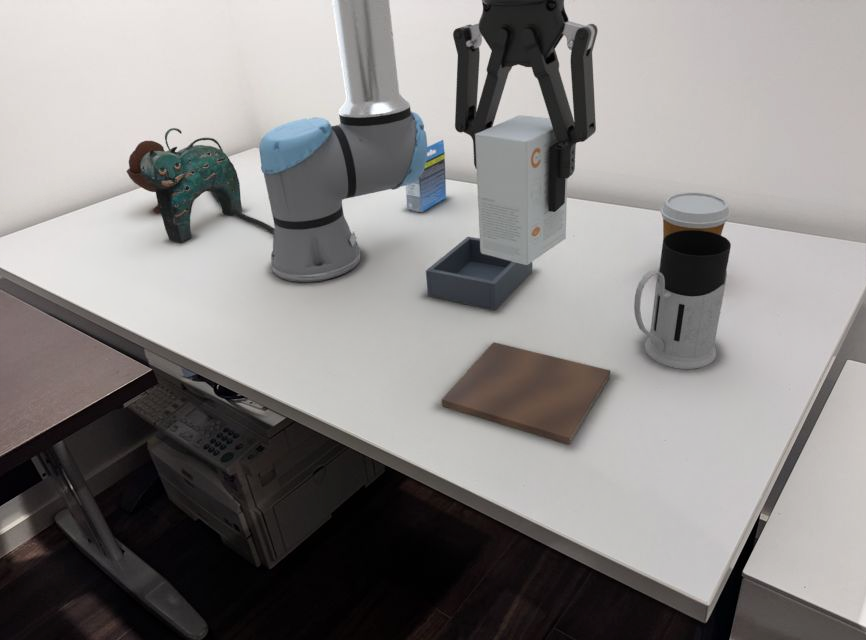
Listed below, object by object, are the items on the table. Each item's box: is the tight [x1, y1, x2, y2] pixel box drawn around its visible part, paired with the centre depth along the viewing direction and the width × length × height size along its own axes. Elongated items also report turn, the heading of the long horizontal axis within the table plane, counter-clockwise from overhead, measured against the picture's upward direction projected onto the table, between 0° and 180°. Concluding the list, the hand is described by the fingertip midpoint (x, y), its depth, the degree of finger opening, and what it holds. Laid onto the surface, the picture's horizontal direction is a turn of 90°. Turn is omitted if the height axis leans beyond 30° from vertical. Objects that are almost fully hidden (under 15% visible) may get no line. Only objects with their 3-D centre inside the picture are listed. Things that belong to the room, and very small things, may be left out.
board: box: [441, 342, 611, 445], centre depth 81 cm, size 16×14×1 cm
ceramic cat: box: [140, 127, 243, 244], centre depth 130 cm, size 20×6×20 cm, turn 150°
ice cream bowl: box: [126, 140, 165, 215], centre depth 141 cm, size 11×11×15 cm
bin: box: [425, 236, 533, 311], centre depth 105 cm, size 12×14×4 cm
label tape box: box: [405, 139, 447, 213], centre depth 133 cm, size 9×4×12 cm, turn 144°
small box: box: [475, 114, 568, 265], centre depth 70 cm, size 8×6×13 cm
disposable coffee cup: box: [660, 191, 731, 240], centre depth 100 cm, size 10×10×12 cm
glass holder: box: [633, 230, 732, 370], centre depth 81 cm, size 9×14×15 cm, turn 125°
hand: (523, 202), depth 71 cm, fingers closed on small box, 7 cm apart
